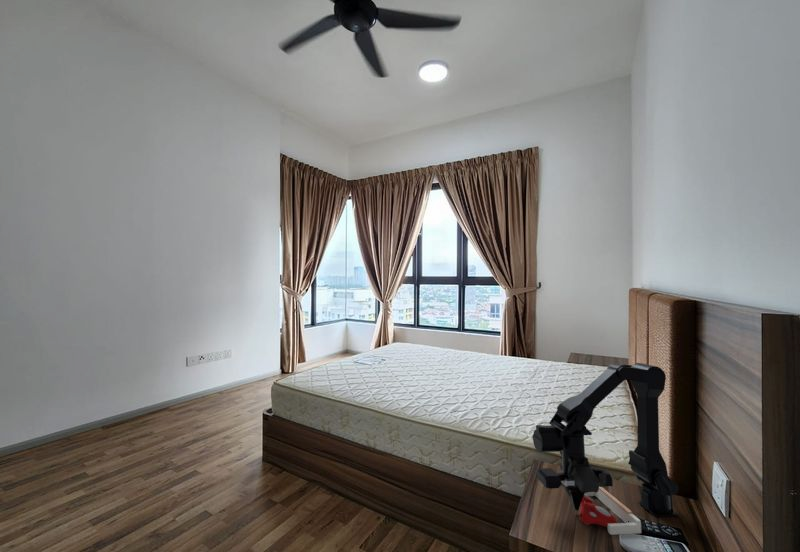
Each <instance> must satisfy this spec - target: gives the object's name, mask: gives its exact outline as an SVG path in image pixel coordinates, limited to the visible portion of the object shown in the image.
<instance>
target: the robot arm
mask: <svg viewBox="0 0 800 552" xmlns="http://www.w3.org/2000/svg"><path fill="white" fill-rule="evenodd" d="M666 380H667V378H666V372H665V371H664V370H663V369H662V368H661V367H659V366H656V365H651V364H647V363H642V362H636V363H634V364H617V363H611V364H609V365H608V366H607V367H606V370H604V371H603V372H602V373H601V374H600V375H599V376H598V377H597V378H595V379H594V381H592V382H591V383H590V384H589V385H588V386H587V387H585V389H584V390H582V391H581V392H580V393H578V394H577V395H574V396H570V397H568V398H566V399H565V400H563V401H562V402H560V403H559V404H558V405H557V406H556V407H557V408H556V412H555V413H554V415H553V416H552V418H551V419H550V421H549V422H548V423H549V424H548V425H542V424H536V425H535V429H534V431H533V434H532V442H533V445H534V448H535V450H536V452H538V453H558V452H559V455H561V456H562V457H561V458H562V459H561V460H562V464H560V466H559V468H560V470H561V471H562V472H556V471H554V469H553V468H552V467H549V468H548V467H545V468H539V469H538V470H537V476H536V477H537V479H538V481H540V483H541V484H542V485H543V486H544V487H545V488H546V489H550V490H551V489H559V488H560V487H561V486H562V487H563V488H564V490H565V492H566V494H567V496H568V499H569V501H570V503H571V506H572V509H573V510H574V511H579V509H580V508H581V501H582V499H583V496H584V494H585V493H588V492H598V490H599V487H602V488H604V487H606V488H607V487H614V478H613V476H612V475H611V474H610V473H609V472H608V471H606V469H604V468H603V467H601V466H599V465H598V466H590V461H589V458H588V457H586V452H585V451H586V449H585V436H592V435H593V432H591V431H590V430H589V429H588V428H587V425H586V424H587V423H588V422H589V421H590V419H591V418H592V416H593V413H594V410H595V408H596V407H597V406H598V405H599V404H600V403H601V402H602V401H603V400H605V398H607V397H608V396H609V395H610V394H611V393H612V392H613V391H614V390H615V389H616V388H617V387H618V386H620V385H621V384H622V383H623V382H624V381H630V383H631V386H632V388H633V390H634V391H635V394H636V414H637V415H636V417H637V418H636V420H637V445H636V446H635V448H634V450H631V449H630V450H628V455H629V457H628V458H629V459H628V460H629V461H628V465H629V466H630V469H631V471H632V472H633V473H634V475H635V476H636V478H637V479H638V480H639V481H641V489H640V496H641V498H640V499H641V501H640V500H639V501H638V504H639V505H640V506H641V507H643V508H644V509H646V510H647V511H648V512H649V513H651V514H652V515H653V516H654V517H658V518H659V517H662V518H663V517H678V516H679V512H677V511H675V510H674V503H673V495H678V492H679V488H680V487H679V485H678V484H677V483H676V482H675V481H674V480H673V479H671V477H670V476H669V475H668V469H667V463H666V461H665V460H664V457H663V455H662V454H661V451H660V431H659V430H660V425H659V424H660V423H659V422H660V421H659V399H660V396H661V395H662V393H663V392H664V390H665V387H666ZM562 422H563V423H565V424H566V425H565V424H563V423H562Z"/></svg>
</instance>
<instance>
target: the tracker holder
mask: <svg viewBox="0 0 800 552" xmlns="http://www.w3.org/2000/svg"><path fill="white" fill-rule="evenodd" d="M593 502H594V499H593V498H592V496H587V495H584V496H583V499H582V501H581V504H580V513H579V518H578V519H579V520H580V521H581V522H582V523H583V524H584V525H585V526H589V525H591V524H592V525H599V526H603V527H605V528H608V524H612V523H619V521H618V519H617V517H615V516H614V515H613V514H612V513H611V512H610V511H609V510H607V509H606V508H604V507H603V506H601V505H598V504H596V503H593Z"/></svg>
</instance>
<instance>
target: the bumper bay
mask: <svg viewBox="0 0 800 552" xmlns="http://www.w3.org/2000/svg"><path fill="white" fill-rule="evenodd" d="M584 495H587V496H589V497H596V498H597V499H598V501H599V500H600V502H601V503H602V504H604V505H605V506H606V507H607V508H608V509H609V510H611V512H613V514H615V515H616V516H617V517H619V518H620V519H621V520H622V521H623V522H618V523H612V524H608V527H607V533H608V534H609V535H615V536H616V535H634V534H642V522H641V519H639V518H638V517H637V516H636V515H635V514H633V511H632V510H631V509H629V508H628V507H627V506H626V505H624V504H623V502H621V501H619V500H618V499H617V498H616V497H614V495H612V494H611V493H610V492H608V491H607V490H606V489H605V488H604V487H599V490H598V492H588V493H585V494H584ZM628 521H629V522H628Z"/></svg>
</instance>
